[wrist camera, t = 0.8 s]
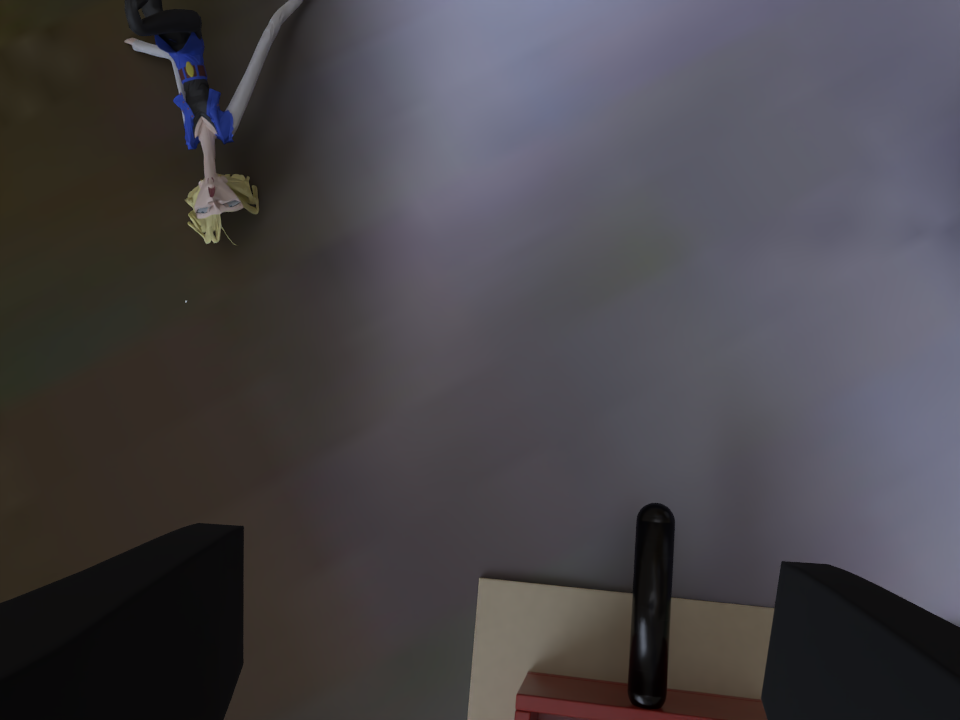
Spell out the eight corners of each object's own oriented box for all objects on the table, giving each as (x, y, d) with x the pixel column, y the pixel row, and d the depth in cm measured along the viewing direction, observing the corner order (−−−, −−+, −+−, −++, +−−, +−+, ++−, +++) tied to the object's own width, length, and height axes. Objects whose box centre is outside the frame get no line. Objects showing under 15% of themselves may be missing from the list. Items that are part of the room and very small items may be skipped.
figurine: (226, 299, 41) (167, -123, 39) (368, 283, 37) (311, -191, 35) (31, 319, 32) (-58, -228, 30) (191, 300, 28) (100, -335, 26)
